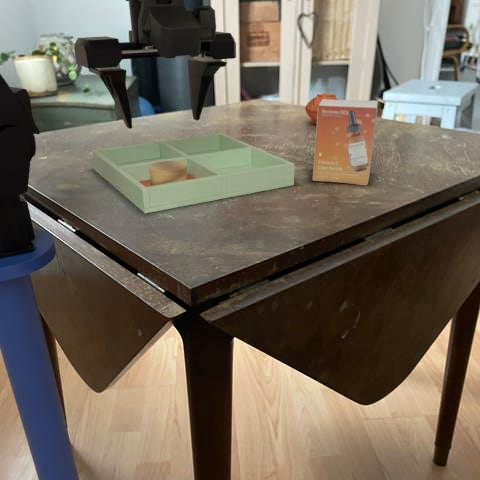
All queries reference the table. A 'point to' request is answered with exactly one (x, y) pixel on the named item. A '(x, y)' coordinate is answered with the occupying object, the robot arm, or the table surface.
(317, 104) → the pot
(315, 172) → the small box
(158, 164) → the cylinder
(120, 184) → the grid
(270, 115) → the table surface
